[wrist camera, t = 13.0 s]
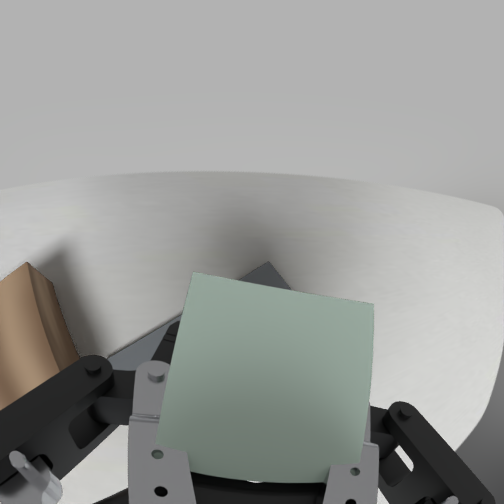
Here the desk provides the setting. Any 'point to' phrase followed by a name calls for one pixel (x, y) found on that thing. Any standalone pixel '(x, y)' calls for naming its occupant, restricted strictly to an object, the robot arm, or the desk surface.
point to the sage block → (267, 382)
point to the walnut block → (30, 334)
